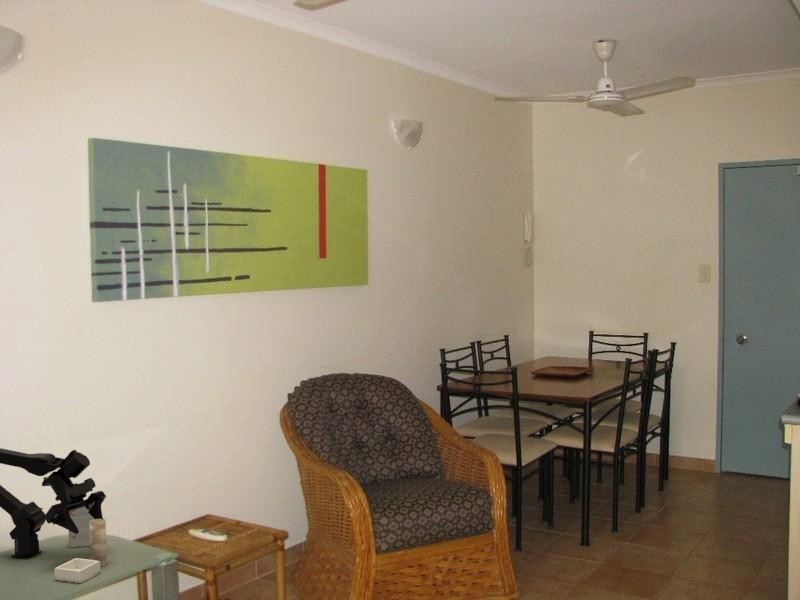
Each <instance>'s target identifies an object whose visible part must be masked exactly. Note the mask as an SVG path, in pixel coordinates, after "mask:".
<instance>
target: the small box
mask: <svg viewBox="0 0 800 600" xmlns="http://www.w3.org/2000/svg"><path fill="white" fill-rule="evenodd" d="M88 511H89V510H88V509H86V507H82V508H79V509H76V510H72V511H69V512H70V517H71V519H72V520H73V522H74V523H75V525H76V527H77V529H78V531H79V533H78V534H75V533H73V532H71V531H69V530H68V543H69V544H68V546H69V548H76V547H77V548H79V547H90V525H89V522H90V521H91V520H95V519H94V518H93V517H92V516H91V515H90V514H89V513H88Z"/></svg>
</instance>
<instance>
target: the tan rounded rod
mask: <svg viewBox="0 0 800 600" xmlns="http://www.w3.org/2000/svg"><path fill="white" fill-rule="evenodd" d="M106 523H107V521H106V518H105V519H104V518H103V519H95V520H91V521H90V522H89V525H90V546H89V551H90V553H89V554H90V556H89V557H90V559H89V560H96V561H100V567H104V566H105V564H106V563H108V562H107V561H108V560H107V527H106ZM103 565H104V566H103ZM106 565H107V564H106Z"/></svg>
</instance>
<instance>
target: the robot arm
mask: <svg viewBox="0 0 800 600" xmlns="http://www.w3.org/2000/svg"><path fill="white" fill-rule="evenodd" d="M0 464H2V465H6V466H11V467H16V468H21V469H23V470H24V471H26V472H27V473H29V474H31V475H34V476H36V477H43V476H44V477H43V481H42V482H41V487H50V488H51V490H53V492H54V494H55V495H56V497H55V498H54V500H55V501H56V502H58V501H59V503H55V504H53V505H51V506H50V508H49V509H48V510H47V511H46V513H45V512H44V511H43V510H44V508H43V507H40V506H39V505H37V503H35V501H31V502H29V503H24V502H23V501H21V500H20V499H19V498H17V496H15V495H14V494H12V493H11V492H10V491H9V490H7V489H6V488H5V487H4V486H2V485H1V484H0V508H1V509H2V510H4V512H6V513H7V514H8V515H9V516H10V518H11V521H12V522H13V526H15V527H14V528H13V529H12V530H11V531H10V532H9V536H10V538H11V540H14V553H12V554H10V557H12V558H19V559H25V560H28V559H30V558H32V557H35V556H37V555H39V554H41V553H42V552H43V550H40V540H39V534H37V533H38V532H40V531H41V528H42V526H44V525H45V523H47V524H52V525H57V526H60V527H62V528H63V529H66V530H68V532H69V531H71V532H73V533H75V534H78V533H79V531H78V529H77V527H76V525H75V523H74V522H73V520H72V519H71V517H70V512H69V511H72V510H76V509H79V508H82V507H86V509H88V510H89V511H88V513H89V514H90V515H91V516H92V517H93V518H94V519H104V517H103V512H102V504H103V502H104V501H105V500H106V498H107V495H106V494H105V492H104V491H102V490H98V491H94V488H96V486H97V485H96V483H95V480H94V479H93V478H92V477H89V478H86V479H84V480H83V482H80V483H77V482H75V483H73V481H72V479H76V478H78V477H79V476H80V475H81V474H82V473H83V472H84V471H85V470H86V469H87V468H88V467H89V466H90V465H91V461H90V459H89V458H88V456H87V455H85V454H83V453H82V452H79V451H77V450H76V449H72V450H71V451H70V452H69V453H68V455H67V456H66V457H65V458H62V457H57V456H55V454H53V453H47V452H45V453H44V452H40V453H25V452H21V451H16V450H11V449H7V448H1V447H0ZM57 469H58V470H57ZM55 470H56V471H55ZM49 473H50V474H49ZM48 474H49V476H46V475H48ZM71 478H72V479H71ZM93 491H94V492H93ZM90 492H92V493H91V494H90V495H89V496H88V497H87V493H90ZM86 497H87V499H84V498H86Z"/></svg>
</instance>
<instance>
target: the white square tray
mask: <svg viewBox="0 0 800 600" xmlns="http://www.w3.org/2000/svg"><path fill="white" fill-rule="evenodd" d="M99 574H101V566H100V561H96V560H90V559H89V558H88V559H86V558H80V557H75V558H72V559H70V560H69V561H66V562H65V563H63V564H60V565H58V566H57V567H54V581H55V580H59V581H58V582H62V581H68V582H67V583H70V582H75V583H74V584H77V583H81V582H82V583H84V582H86V581H88V580H90V579H92V578H93V577H95V576H97V575H99ZM85 580H86V581H85ZM83 581H84V582H83ZM82 583H81V584H82Z"/></svg>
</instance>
